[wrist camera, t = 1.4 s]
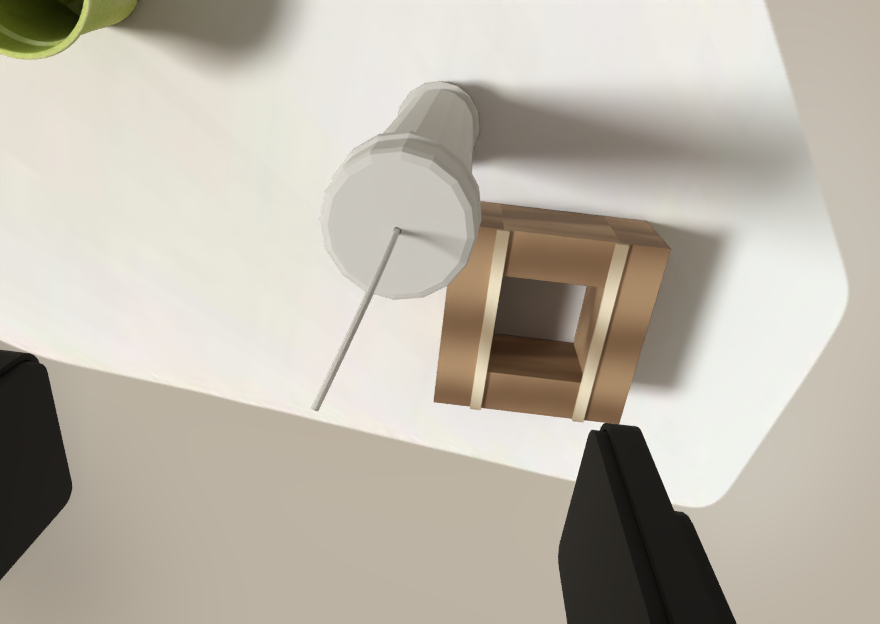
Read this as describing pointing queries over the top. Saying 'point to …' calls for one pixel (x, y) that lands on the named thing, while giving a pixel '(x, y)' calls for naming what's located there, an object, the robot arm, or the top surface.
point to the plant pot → (54, 24)
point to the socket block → (544, 361)
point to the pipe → (405, 204)
